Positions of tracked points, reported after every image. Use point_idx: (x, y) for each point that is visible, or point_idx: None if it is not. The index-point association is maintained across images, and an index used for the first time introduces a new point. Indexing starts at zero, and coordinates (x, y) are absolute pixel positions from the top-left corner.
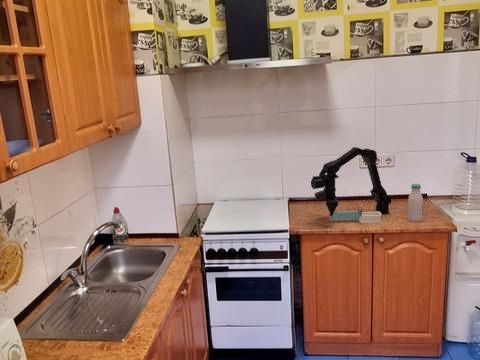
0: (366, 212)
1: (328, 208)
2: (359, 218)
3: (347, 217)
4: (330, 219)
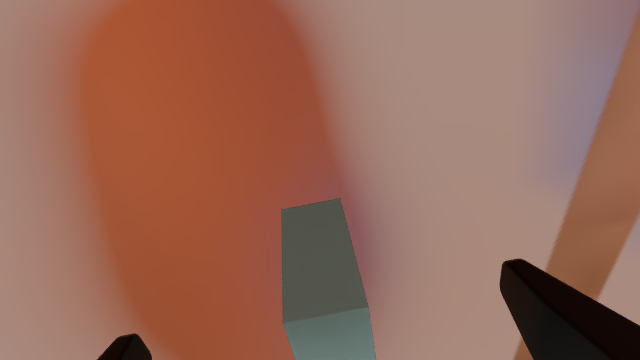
0: None
1: (534, 305)
2: None
3: None
4: (282, 226)
